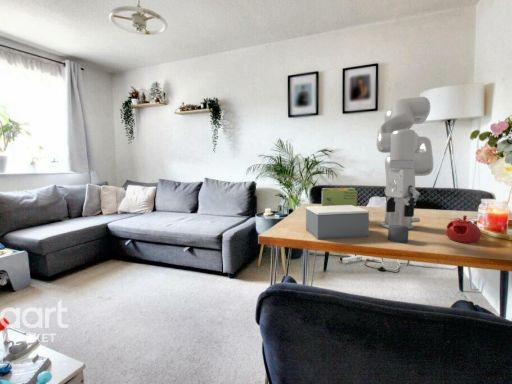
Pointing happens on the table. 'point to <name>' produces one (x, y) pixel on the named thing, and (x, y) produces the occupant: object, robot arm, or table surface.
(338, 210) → the box lid
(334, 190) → the protein box
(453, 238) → the pomegranate
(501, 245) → the table surface
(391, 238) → the tape roll
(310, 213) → the storage box
